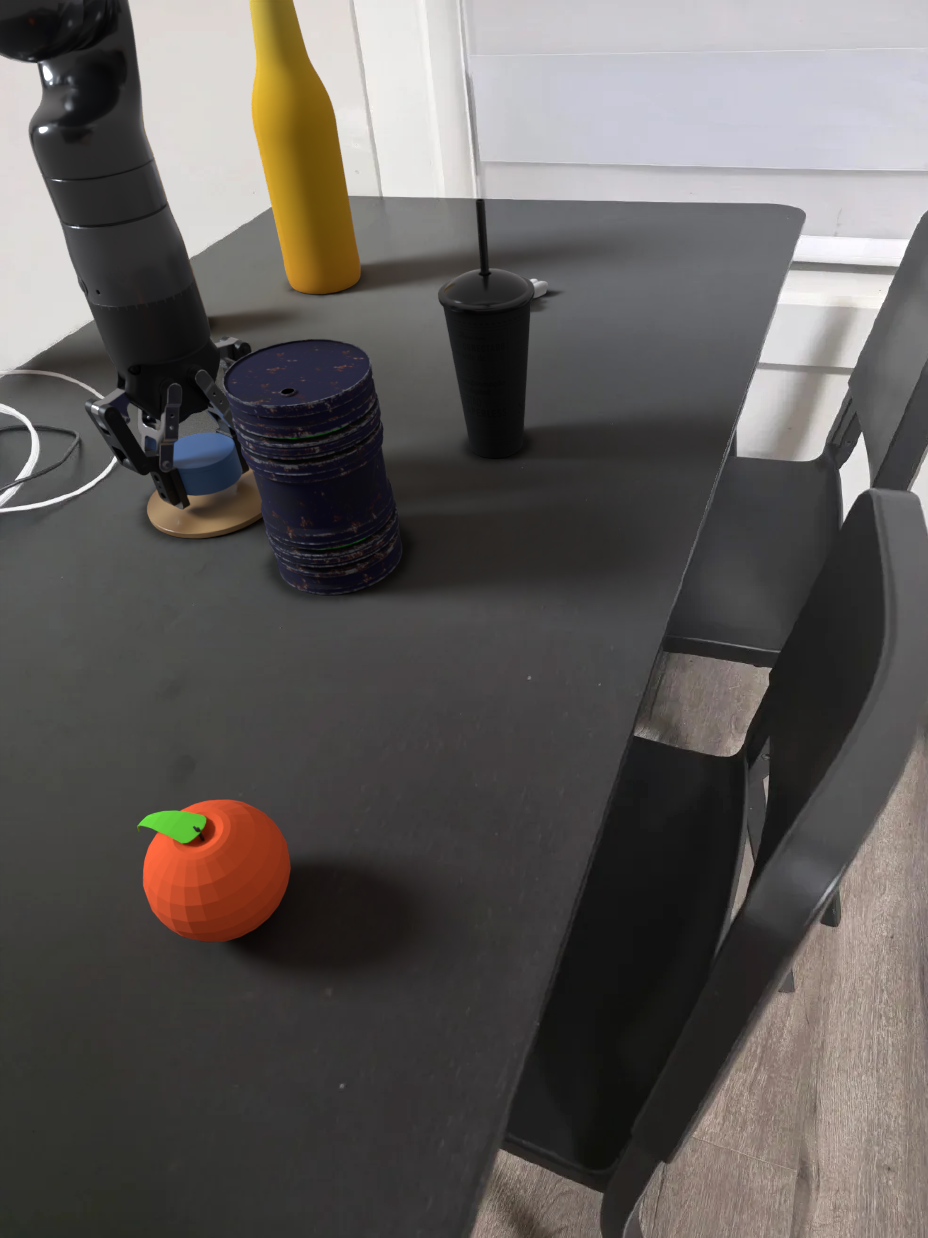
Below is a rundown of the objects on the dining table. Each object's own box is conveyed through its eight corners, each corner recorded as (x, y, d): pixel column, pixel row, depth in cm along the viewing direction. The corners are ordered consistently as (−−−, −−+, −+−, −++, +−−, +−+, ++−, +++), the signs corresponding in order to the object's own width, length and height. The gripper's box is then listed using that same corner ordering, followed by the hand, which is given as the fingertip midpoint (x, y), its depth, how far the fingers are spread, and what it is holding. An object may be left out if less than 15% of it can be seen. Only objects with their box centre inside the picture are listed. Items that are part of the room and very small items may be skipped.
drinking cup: (473, 475, 73) (449, 224, 58) (442, 435, 78) (414, 195, 63) (553, 453, 74) (549, 204, 60) (518, 416, 80) (506, 178, 65)
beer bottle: (375, 282, 105) (328, -16, 85) (307, 301, 102) (242, -4, 81) (342, 262, 111) (291, -22, 90) (277, 280, 108) (209, -12, 87)
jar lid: (176, 462, 72) (167, 435, 70) (245, 455, 73) (237, 428, 71) (166, 499, 68) (155, 472, 66) (239, 491, 68) (230, 464, 67)
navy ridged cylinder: (292, 519, 69) (242, 340, 59) (410, 516, 69) (382, 335, 58) (263, 597, 62) (201, 409, 52) (395, 595, 62) (359, 405, 51)
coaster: (126, 536, 69) (124, 531, 68) (179, 464, 76) (177, 459, 76) (255, 540, 67) (253, 535, 67) (295, 467, 75) (294, 462, 75)
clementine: (126, 936, 43) (67, 860, 38) (205, 829, 48) (162, 748, 43) (257, 986, 41) (214, 913, 36) (328, 869, 46) (298, 789, 40)
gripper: (79, 329, 54) (168, 544, 66) (252, 256, 61) (303, 461, 73) (16, 305, 57) (111, 514, 69) (187, 239, 65) (246, 438, 77)
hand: (210, 486), depth 71 cm, fingers closed on jar lid, 5 cm apart
